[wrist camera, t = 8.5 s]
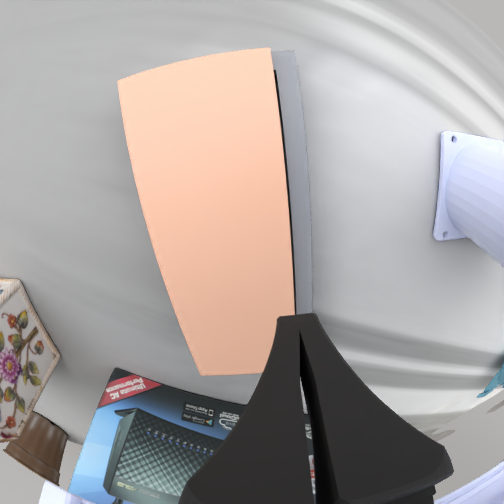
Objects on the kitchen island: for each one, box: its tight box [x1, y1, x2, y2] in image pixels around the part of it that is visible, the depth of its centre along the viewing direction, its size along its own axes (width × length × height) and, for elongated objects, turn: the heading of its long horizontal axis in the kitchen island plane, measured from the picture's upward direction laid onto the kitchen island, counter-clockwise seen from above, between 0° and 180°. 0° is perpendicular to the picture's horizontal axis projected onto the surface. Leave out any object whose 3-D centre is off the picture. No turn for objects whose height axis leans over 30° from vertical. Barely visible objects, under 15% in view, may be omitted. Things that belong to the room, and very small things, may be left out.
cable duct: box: [271, 50, 312, 315], centre depth 16 cm, size 8×20×2 cm, turn 7°
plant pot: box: [3, 411, 68, 486], centre depth 35 cm, size 16×16×16 cm
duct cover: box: [118, 48, 295, 376], centre depth 14 cm, size 7×20×1 cm, turn 7°
